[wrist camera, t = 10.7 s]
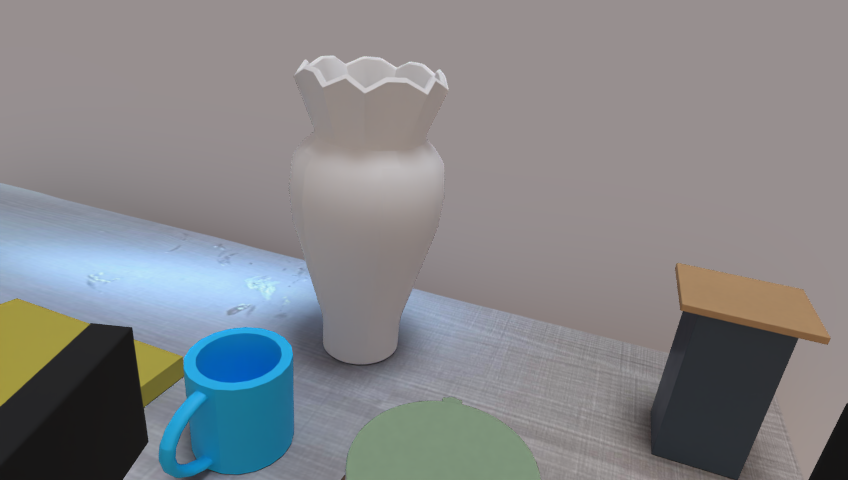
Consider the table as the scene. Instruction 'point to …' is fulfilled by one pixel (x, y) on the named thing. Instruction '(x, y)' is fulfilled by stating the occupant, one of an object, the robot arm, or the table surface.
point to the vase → (366, 195)
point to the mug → (234, 404)
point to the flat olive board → (51, 332)
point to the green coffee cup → (438, 446)
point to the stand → (726, 366)
